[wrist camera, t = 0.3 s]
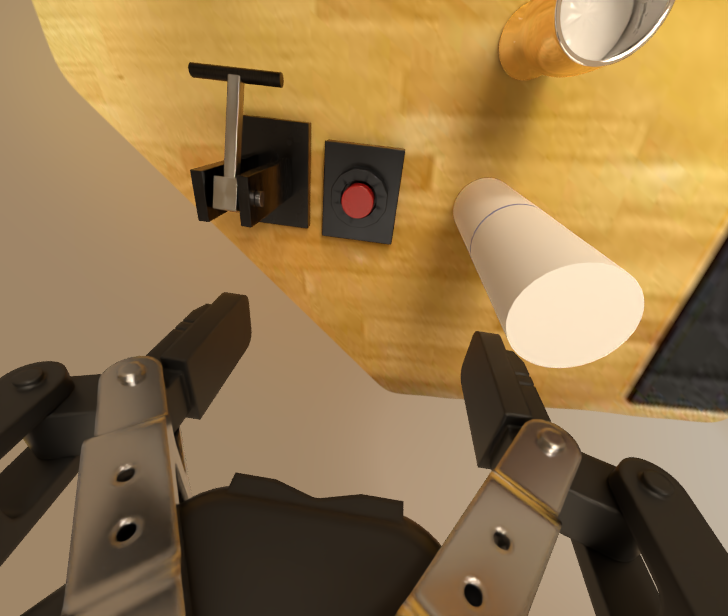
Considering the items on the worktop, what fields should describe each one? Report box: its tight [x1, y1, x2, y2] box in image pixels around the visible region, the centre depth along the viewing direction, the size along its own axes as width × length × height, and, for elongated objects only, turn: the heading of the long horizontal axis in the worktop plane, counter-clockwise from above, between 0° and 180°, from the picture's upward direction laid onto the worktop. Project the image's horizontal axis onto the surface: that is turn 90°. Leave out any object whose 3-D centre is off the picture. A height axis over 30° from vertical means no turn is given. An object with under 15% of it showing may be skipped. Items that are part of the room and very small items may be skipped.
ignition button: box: [341, 183, 374, 219], centre depth 37 cm, size 4×4×2 cm
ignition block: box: [322, 140, 405, 244], centre depth 39 cm, size 11×9×4 cm
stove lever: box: [188, 62, 284, 212], centre depth 29 cm, size 12×8×2 cm
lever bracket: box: [190, 115, 311, 228], centre depth 35 cm, size 12×9×14 cm
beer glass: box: [499, 0, 675, 80], centre depth 25 cm, size 7×7×15 cm
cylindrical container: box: [453, 178, 644, 368], centre depth 29 cm, size 7×7×25 cm
